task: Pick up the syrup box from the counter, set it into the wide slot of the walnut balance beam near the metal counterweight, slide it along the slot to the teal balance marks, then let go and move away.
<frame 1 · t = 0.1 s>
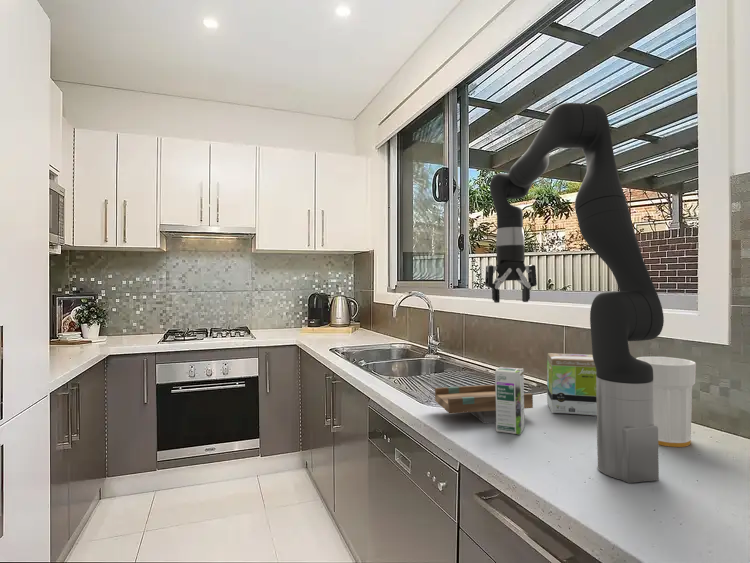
hand: (511, 302, 128), 29 cm above the countertop, tool pointing down, fingers open, 8 cm apart
syrup box: (510, 430, 108), on the countertop
cup: (665, 440, 100), on the countertop
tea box: (578, 411, 123), on the countertop
beam: (482, 415, 120), on the countertop
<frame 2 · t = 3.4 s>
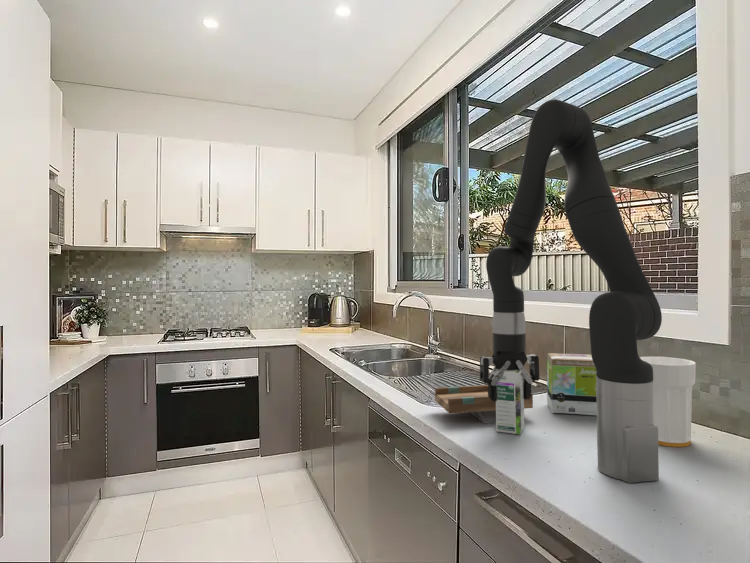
hand: (509, 399, 108), 7 cm above the countertop, tool pointing down, fingers closed on syrup box, 7 cm apart
syrup box: (510, 430, 108), on the countertop, touching gripper
everything else where it was.
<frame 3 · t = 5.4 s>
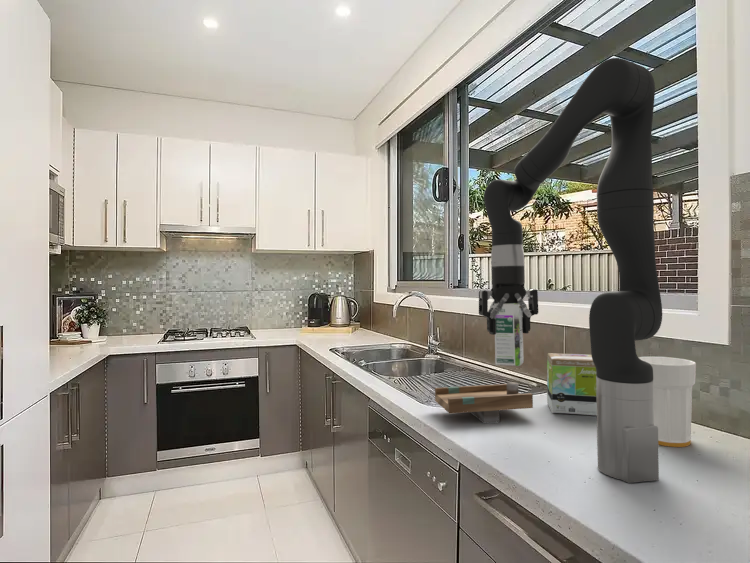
hand: (508, 333, 108), 23 cm above the countertop, tool pointing down, fingers closed on syrup box, 7 cm apart
syrup box: (509, 364, 108), point 15 cm above the countertop, touching gripper
everything else where it was.
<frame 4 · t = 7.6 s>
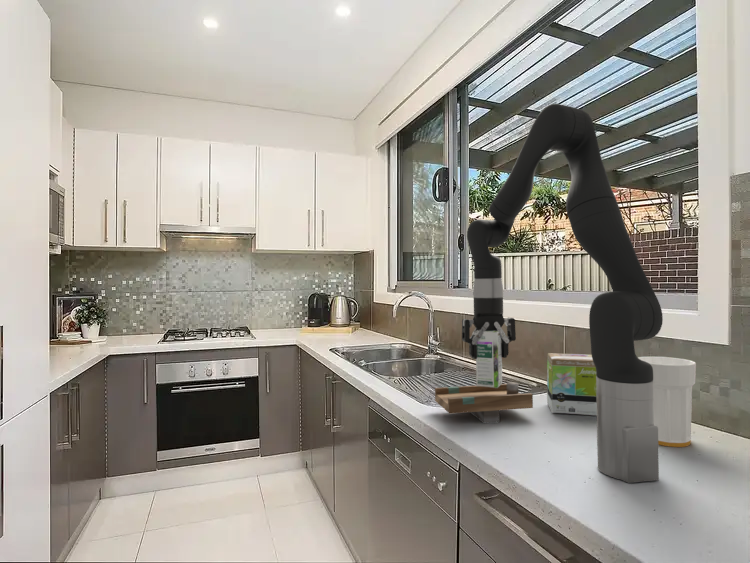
hand: (489, 357, 120), 15 cm above the countertop, tool pointing down, fingers closed on syrup box, 7 cm apart
syrup box: (489, 386, 120), point 8 cm above the countertop, touching gripper
everything else where it was.
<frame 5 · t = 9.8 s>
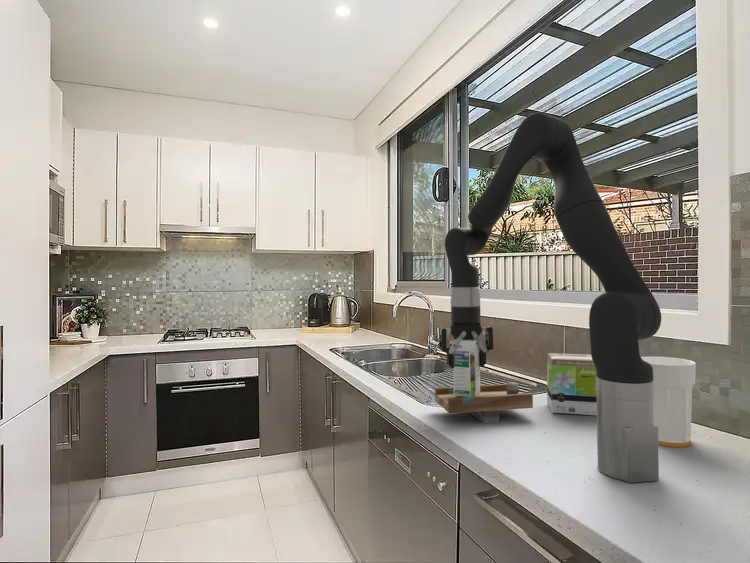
hand: (466, 367, 119), 13 cm above the countertop, tool pointing down, fingers closed on syrup box, 7 cm apart
syrup box: (467, 395, 119), point 6 cm above the countertop, touching gripper
everything else where it was.
when the fingers open (13 cm above the countertop, at t = 11.7 s): syrup box stays where it is, resting on beam.
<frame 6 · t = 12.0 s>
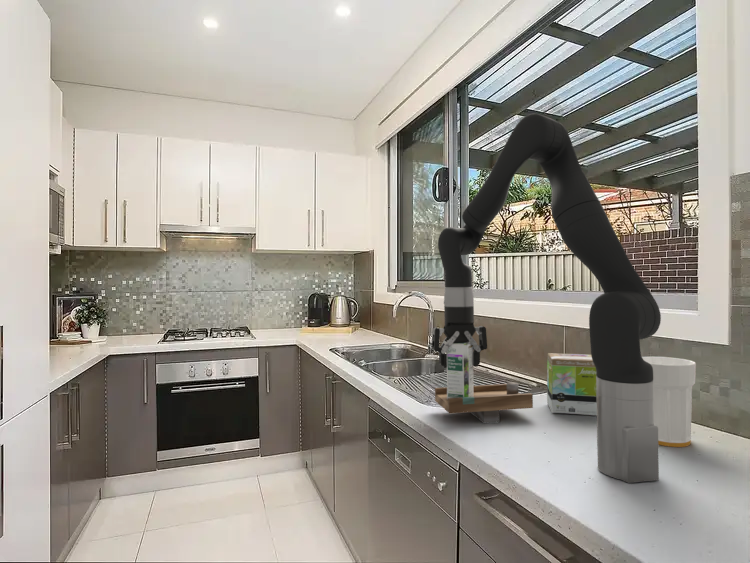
hand: (459, 366, 119), 13 cm above the countertop, tool pointing down, fingers open, 8 cm apart
syrup box: (460, 398, 118), point 5 cm above the countertop, touching beam
everything else where it was.
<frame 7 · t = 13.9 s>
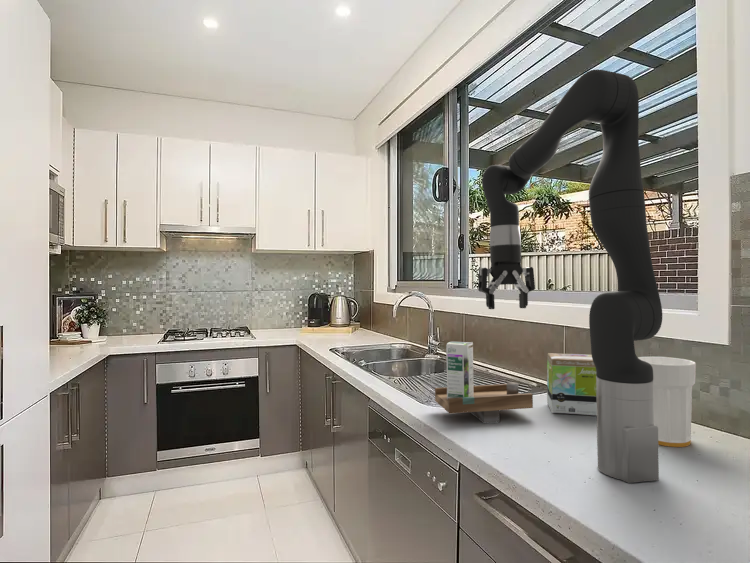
hand: (507, 308, 115), 28 cm above the countertop, tool pointing down, fingers open, 8 cm apart
nothing on the countertop moved.
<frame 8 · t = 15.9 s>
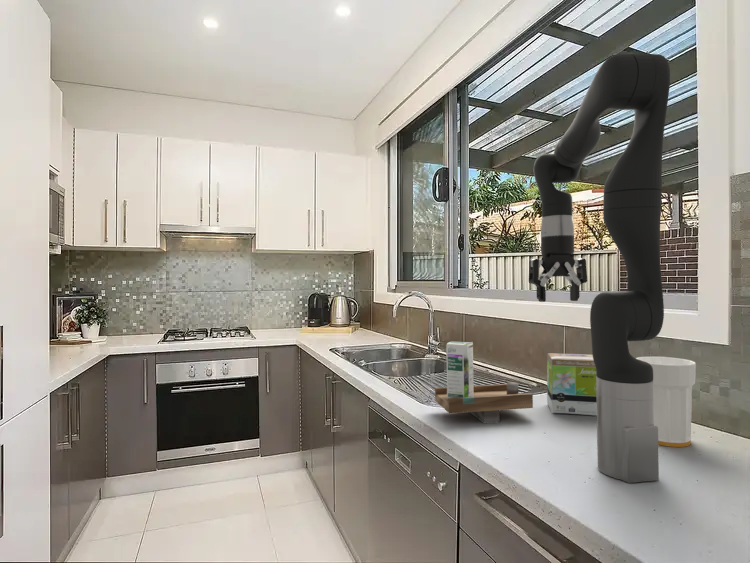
hand: (558, 301, 112), 30 cm above the countertop, tool pointing down, fingers open, 8 cm apart
nothing on the countertop moved.
at the end: syrup box 0.3 cm from the target spot on the beam, point 4.8 cm above the beam's base; syrup box tilted 0°; the gripper is holding nothing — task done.
